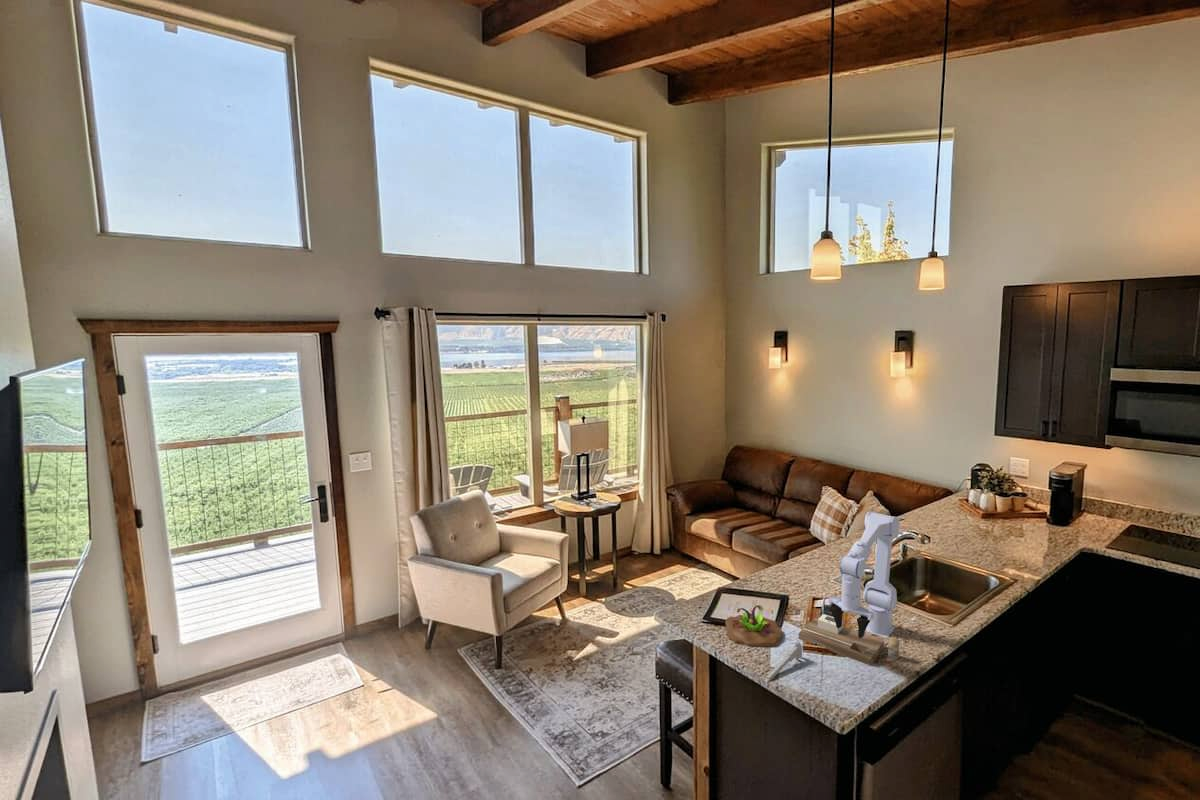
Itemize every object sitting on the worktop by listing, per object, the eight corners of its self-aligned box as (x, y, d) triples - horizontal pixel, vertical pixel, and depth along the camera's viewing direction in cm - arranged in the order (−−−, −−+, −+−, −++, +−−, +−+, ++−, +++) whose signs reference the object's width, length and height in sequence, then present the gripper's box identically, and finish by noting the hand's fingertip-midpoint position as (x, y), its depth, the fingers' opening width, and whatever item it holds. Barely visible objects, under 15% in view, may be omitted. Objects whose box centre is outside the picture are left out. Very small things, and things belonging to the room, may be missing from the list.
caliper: (799, 657, 189) (799, 639, 188) (802, 658, 188) (802, 640, 187) (763, 682, 176) (764, 663, 175) (767, 683, 175) (767, 664, 174)
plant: (784, 652, 193) (785, 621, 191) (726, 647, 197) (726, 617, 195) (778, 622, 212) (779, 594, 211) (725, 618, 216) (725, 590, 215)
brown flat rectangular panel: (814, 623, 210) (814, 617, 210) (884, 647, 194) (884, 640, 193) (798, 639, 200) (798, 632, 199) (870, 665, 183) (870, 658, 183)
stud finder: (823, 621, 206) (823, 613, 206) (842, 628, 202) (843, 619, 201) (817, 627, 203) (817, 618, 202) (837, 634, 198) (837, 624, 198)
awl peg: (889, 653, 190) (890, 636, 190) (899, 656, 188) (900, 639, 187) (886, 657, 188) (887, 640, 187) (897, 661, 186) (897, 643, 185)
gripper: (823, 588, 189) (822, 627, 190) (866, 605, 177) (864, 645, 179) (835, 582, 193) (834, 620, 195) (877, 598, 181) (876, 637, 183)
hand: (849, 631), depth 187 cm, fingers open, 7 cm apart
